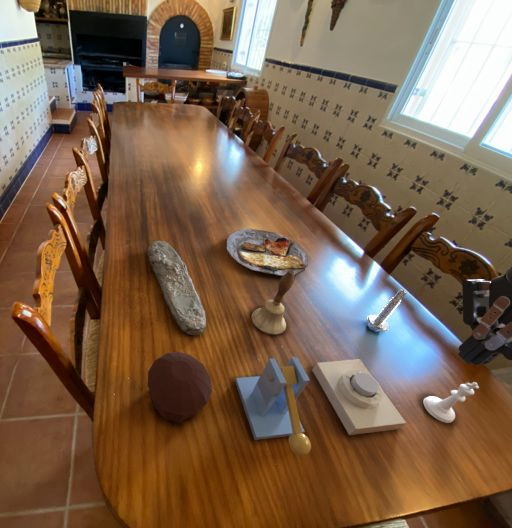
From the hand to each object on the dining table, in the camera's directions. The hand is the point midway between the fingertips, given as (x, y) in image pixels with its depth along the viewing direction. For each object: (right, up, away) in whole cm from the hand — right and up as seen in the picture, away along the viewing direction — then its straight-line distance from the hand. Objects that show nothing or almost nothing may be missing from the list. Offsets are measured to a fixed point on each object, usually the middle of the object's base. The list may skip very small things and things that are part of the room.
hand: (468, 359), depth 40 cm
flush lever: (-21, -11, +9) cm, 25 cm away
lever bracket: (-22, -14, +16) cm, 30 cm away
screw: (+11, -3, +33) cm, 35 cm away
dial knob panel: (-4, -13, +18) cm, 23 cm away
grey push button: (-4, -10, +16) cm, 19 cm away
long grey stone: (-38, +7, +40) cm, 56 cm away
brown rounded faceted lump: (-39, -13, +16) cm, 44 cm away
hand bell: (-15, -1, +33) cm, 36 cm away
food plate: (-9, +16, +54) cm, 57 cm away
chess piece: (+12, -16, +18) cm, 27 cm away
